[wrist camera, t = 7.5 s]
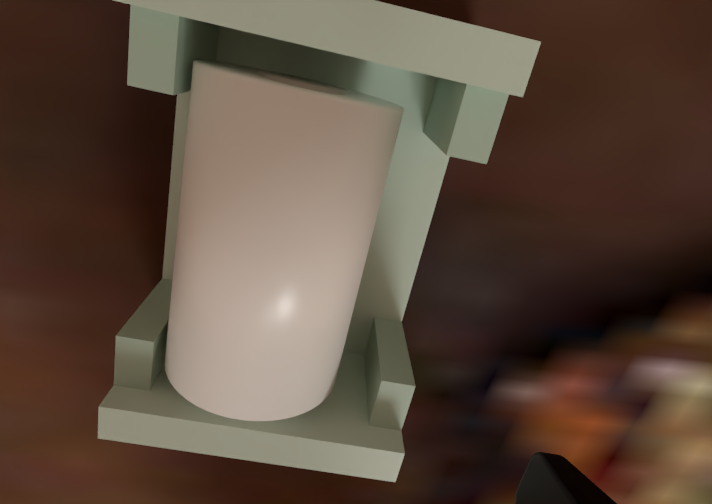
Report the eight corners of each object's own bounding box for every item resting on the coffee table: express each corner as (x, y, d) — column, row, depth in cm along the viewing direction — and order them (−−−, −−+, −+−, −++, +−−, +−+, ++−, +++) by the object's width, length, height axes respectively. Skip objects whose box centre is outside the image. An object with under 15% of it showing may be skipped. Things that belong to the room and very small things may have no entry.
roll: (348, 345, 19) (312, 447, 14) (211, 305, 19) (126, 389, 14) (411, 100, 15) (395, 112, 10) (243, 59, 16) (147, 50, 11)
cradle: (381, 369, 21) (395, 482, 16) (165, 332, 20) (97, 438, 15) (474, 45, 16) (541, 41, 11) (196, -23, 15) (113, -66, 10)
